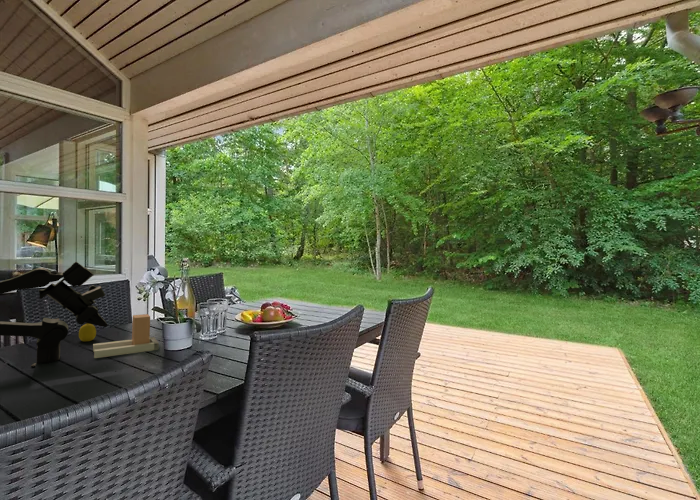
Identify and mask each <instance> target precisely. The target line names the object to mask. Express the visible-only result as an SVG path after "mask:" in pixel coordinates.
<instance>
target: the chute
mask: <svg viewBox="0 0 700 500" xmlns="http://www.w3.org/2000/svg"><path fill="white" fill-rule="evenodd" d="M159 346H160V345H159V342H158V340H157V339H156V337H154V336H153V337H152V336H150V341H149V343H145V344H137V345H132V339H124V340H116V341H108V342H99V343H93V344H92V352H93V353H94V354H93V358H94V359H100V358H107V357H114V356H120V355H127V354H128V355H129V354H136V353H144V352H150V351H158V350H159Z"/></svg>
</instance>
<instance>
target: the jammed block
mask: <svg viewBox="0 0 700 500" xmlns="http://www.w3.org/2000/svg"><path fill="white" fill-rule="evenodd" d="M131 323H132V325H131V328H132V329H131V330H132V331H131V340H132V345H137V344H145V343H149V341H150V337H151V336H150V335H151V334H150V333H151V332H150V331H151V330H150V328H151V315H150V314H148V313H145V314H133V315H132V322H131Z"/></svg>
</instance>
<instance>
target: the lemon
mask: <svg viewBox="0 0 700 500" xmlns="http://www.w3.org/2000/svg"><path fill="white" fill-rule="evenodd" d="M95 337H97V328H96V325H93V324H88V323H84V324H83V325H81V326H80V328H79V330H78V338H79V340H80V341H81V342H84V343H85V342H91V341H93V340H94V339H95Z"/></svg>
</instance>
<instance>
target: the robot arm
mask: <svg viewBox="0 0 700 500" xmlns="http://www.w3.org/2000/svg"><path fill="white" fill-rule="evenodd" d="M94 275H95V274H94V273H93V272H91V270H89V269H88V268H87V267H85V266H83V265H82V264H80V263H79V262H78V261H74V262H73V263H72V264H71V266H70V267H68V268H67V269H65V270H64V271H63V272H60V271H50V270H49V269H47V268H45V267H37V268H36V267H35V268H34V269H31V270H29V271H27V272H24V273H22V274H20V275H17V276H14V277H12V278H9V279H4V280H1V281H0V295H3V294H7V293H10V292H15V291H20V290H31V289H38V288H44V287H45V288H44V289H39V290H38V293H39V297H38V298H39V300H41V299H43V298H45V297H46V296H48V297H49V298H51V299H52V300H53V301H55V302H56V303H58V304H59V305H61V307H62V308H63V309H66V310H68V312H71V313H72V315H73V316H75V322H76V323H77V324H79V325H80V326H83V325H85V324H86V323H88V324H92V325H94V326H98V327H101V328H106V327H108V325H109V324H108V323H107V321H106V320H105V319H104V318H103V317H102V316H101V314H100V313H99V307H98V305H95V304H96V301H95V300H98V299H100V298H104V297H105V296H106V293H105V292H104V290H103V288H102V286H95V285H93V284H92V285H91V286H89V287H88V291H85V292H84V293H82V292H81V291H76V290H75V289H73V288H75V287H77V286H78V287H81V286H82V285H83V284H85V283H86V282H87V281H88V280H89V279H91V278H92V277H93V276H94ZM54 282H57V283H54ZM69 285H70V286H69ZM68 334H69V325H68V324H67V323H66V321H65V320H60V318H49V317H43V319H42V320H41V322H40V321H39V322H18V321H17V322H16V321H0V336H1V337H4V336H6V337H28V338H29V337H30V338H34V339H37V340H36V343H35V344H36V362H35V363H33V364H31V365H30V367H32V368H35V367H36V365H38V364H41V365H42V364H43V365H44V364H50V363H53V362H57V361H60V360H61V341H63V340H64V339H65V338H67V336H68Z"/></svg>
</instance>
